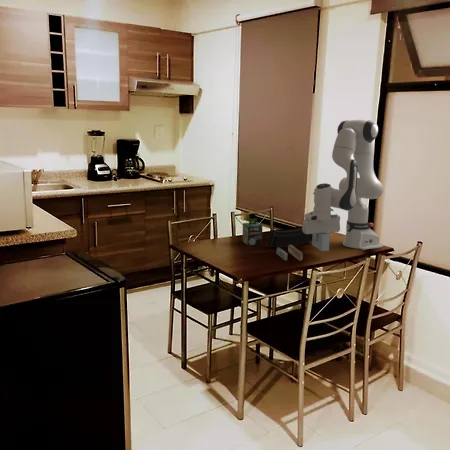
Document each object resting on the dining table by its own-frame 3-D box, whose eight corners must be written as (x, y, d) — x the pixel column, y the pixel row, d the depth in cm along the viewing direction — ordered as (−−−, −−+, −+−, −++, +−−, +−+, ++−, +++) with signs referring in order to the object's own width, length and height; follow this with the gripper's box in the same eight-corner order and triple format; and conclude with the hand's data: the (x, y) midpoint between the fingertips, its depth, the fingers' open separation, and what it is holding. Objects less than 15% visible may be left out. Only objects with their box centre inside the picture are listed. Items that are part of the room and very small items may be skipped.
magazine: (267, 234, 256) (310, 214, 267) (264, 232, 259) (307, 213, 270) (273, 261, 262) (315, 241, 273) (270, 260, 265) (312, 240, 276)
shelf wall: (290, 251, 255) (291, 244, 254) (302, 260, 240) (302, 253, 239) (288, 252, 255) (288, 244, 254) (299, 260, 240) (300, 253, 239)
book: (318, 244, 253) (319, 229, 251) (328, 250, 242) (329, 235, 240) (312, 244, 252) (312, 230, 250) (321, 251, 241) (322, 236, 239)
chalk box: (256, 240, 277) (257, 216, 274) (262, 244, 268) (263, 219, 265) (241, 241, 274) (242, 217, 271) (247, 245, 266) (248, 220, 262)
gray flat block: (279, 253, 251) (279, 247, 251) (287, 260, 240) (287, 253, 239) (276, 253, 251) (276, 247, 250) (284, 260, 240) (284, 253, 239)
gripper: (337, 212, 248) (335, 238, 252) (301, 215, 243) (300, 240, 247) (343, 215, 242) (341, 241, 246) (306, 217, 237) (305, 243, 241)
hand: (320, 240), depth 246 cm, fingers closed on book, 4 cm apart
